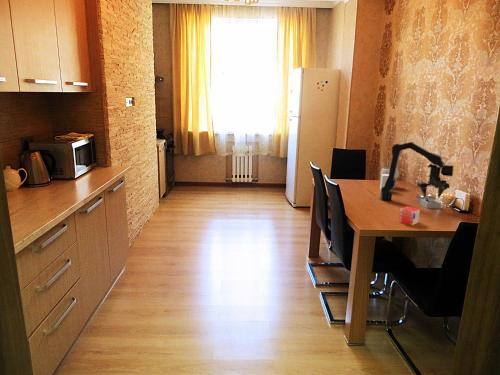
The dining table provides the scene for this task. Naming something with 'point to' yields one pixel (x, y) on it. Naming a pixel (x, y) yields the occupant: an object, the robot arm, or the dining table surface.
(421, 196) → the pin mount
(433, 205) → the socket
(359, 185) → the dining table surface
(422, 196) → the lock pin
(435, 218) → the dining table surface
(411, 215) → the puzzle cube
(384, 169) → the chalice
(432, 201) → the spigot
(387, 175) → the supplement box
